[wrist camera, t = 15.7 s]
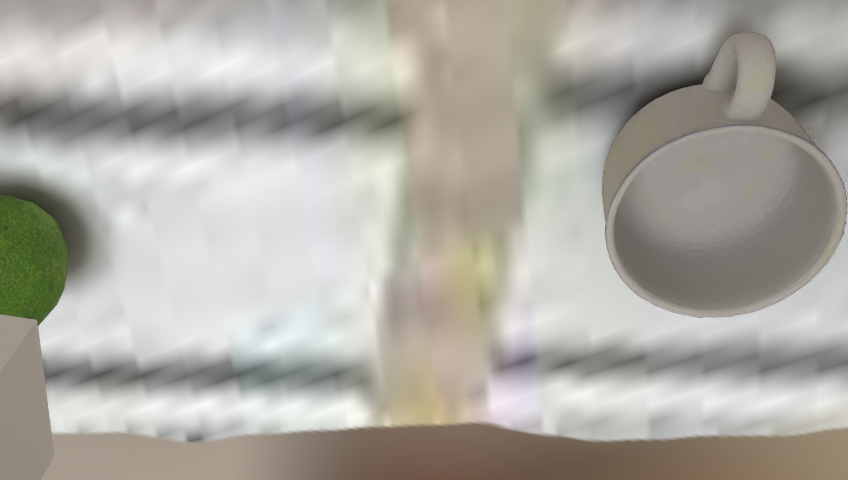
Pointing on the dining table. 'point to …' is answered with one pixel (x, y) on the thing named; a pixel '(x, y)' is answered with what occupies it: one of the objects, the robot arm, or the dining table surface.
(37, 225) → the avocado
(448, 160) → the dining table surface
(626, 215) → the teacup
